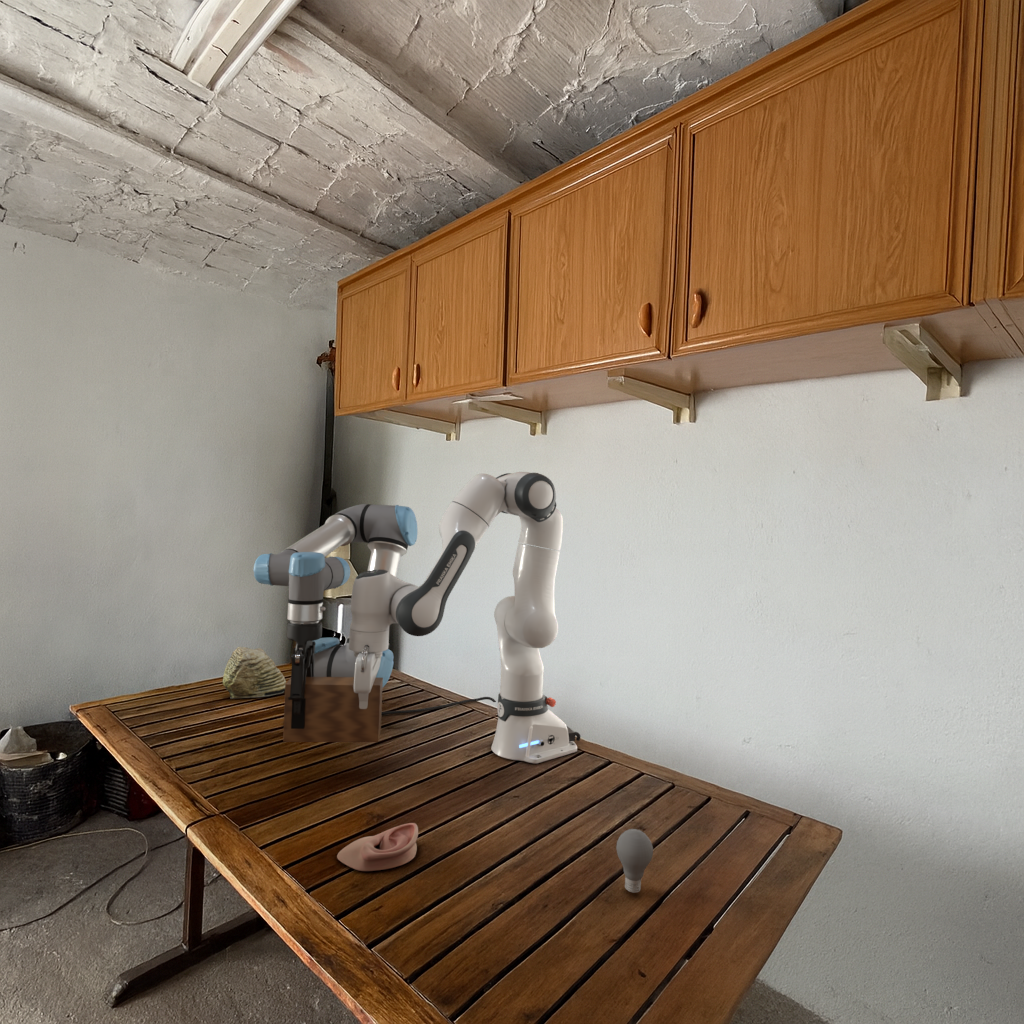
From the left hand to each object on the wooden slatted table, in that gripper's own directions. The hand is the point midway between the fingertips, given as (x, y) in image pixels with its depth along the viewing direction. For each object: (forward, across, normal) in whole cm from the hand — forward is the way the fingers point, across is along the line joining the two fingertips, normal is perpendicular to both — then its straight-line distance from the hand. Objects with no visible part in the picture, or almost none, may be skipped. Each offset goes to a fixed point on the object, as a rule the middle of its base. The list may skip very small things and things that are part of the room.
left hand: (301, 722), depth 143 cm
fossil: (+12, +58, +26) cm, 65 cm away
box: (+3, 0, -7) cm, 8 cm away
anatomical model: (+12, -33, -21) cm, 41 cm away
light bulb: (+12, -45, -64) cm, 79 cm away
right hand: (-5, 0, -14) cm, 15 cm away
